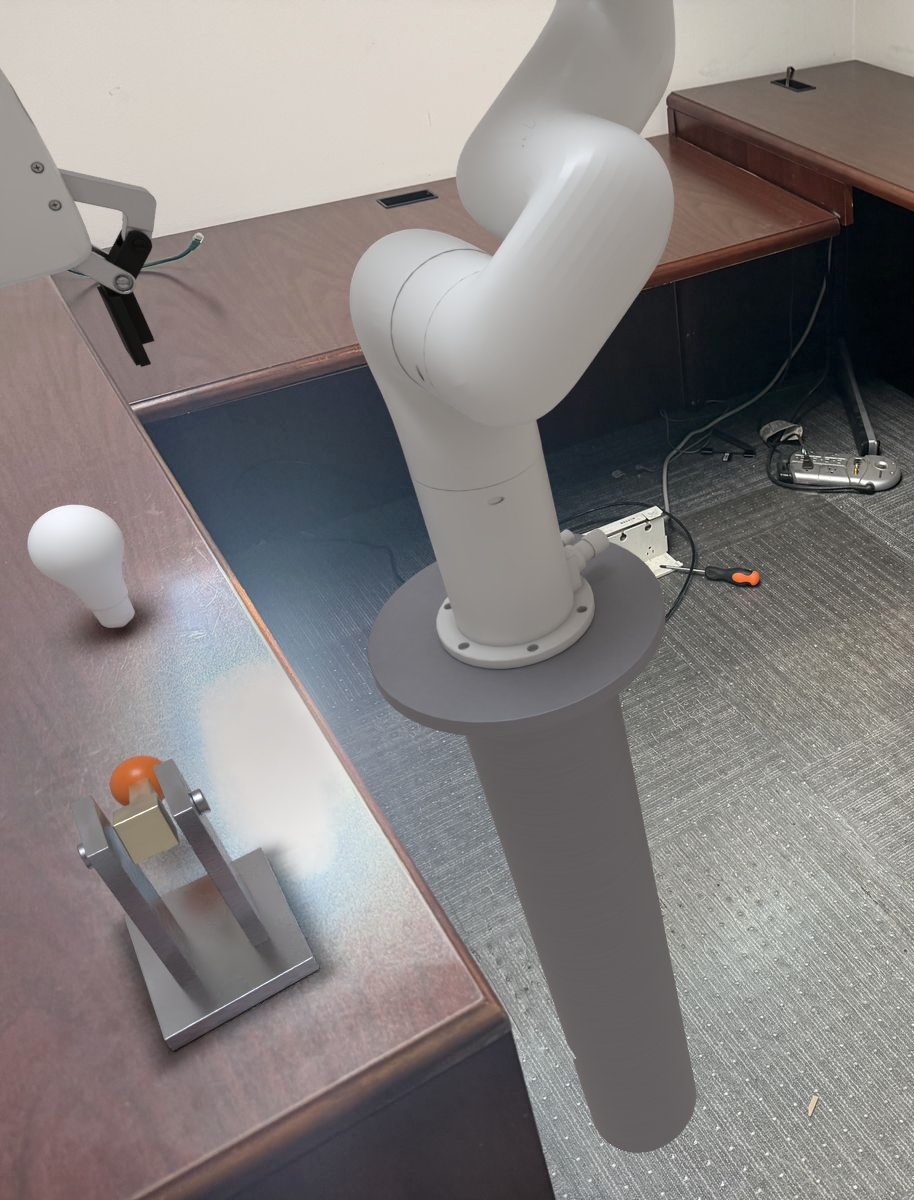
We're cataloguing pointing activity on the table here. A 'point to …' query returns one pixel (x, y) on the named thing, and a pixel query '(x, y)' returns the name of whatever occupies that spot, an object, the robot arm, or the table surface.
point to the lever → (141, 809)
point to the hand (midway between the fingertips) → (43, 385)
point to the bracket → (199, 919)
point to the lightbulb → (84, 559)
